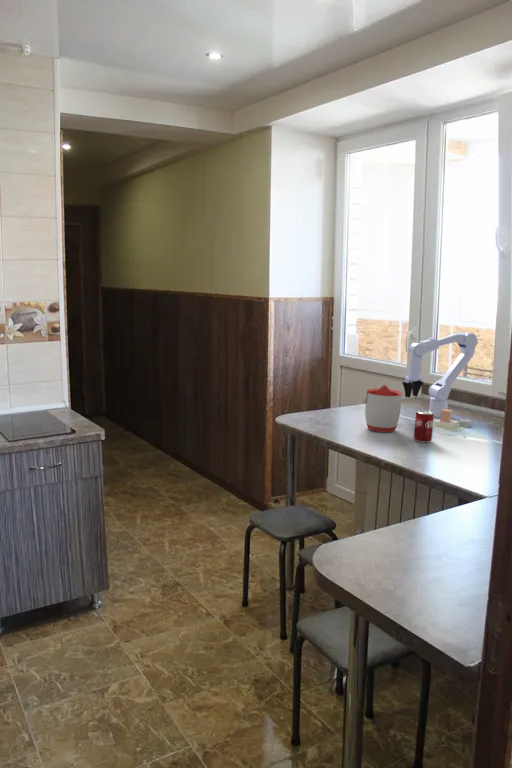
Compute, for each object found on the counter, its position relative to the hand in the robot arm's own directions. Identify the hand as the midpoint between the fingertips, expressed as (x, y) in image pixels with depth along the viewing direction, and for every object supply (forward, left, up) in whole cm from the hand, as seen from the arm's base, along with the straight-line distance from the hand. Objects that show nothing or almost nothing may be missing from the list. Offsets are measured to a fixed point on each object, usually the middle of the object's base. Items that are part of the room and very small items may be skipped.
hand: (411, 396), depth 308 cm
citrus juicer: (+32, +2, -11) cm, 34 cm away
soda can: (+35, +24, -11) cm, 44 cm away
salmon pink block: (+5, +20, -7) cm, 22 cm away
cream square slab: (+5, +21, -9) cm, 23 cm away
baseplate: (+5, +21, -10) cm, 24 cm away
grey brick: (-1, +27, -9) cm, 28 cm away
